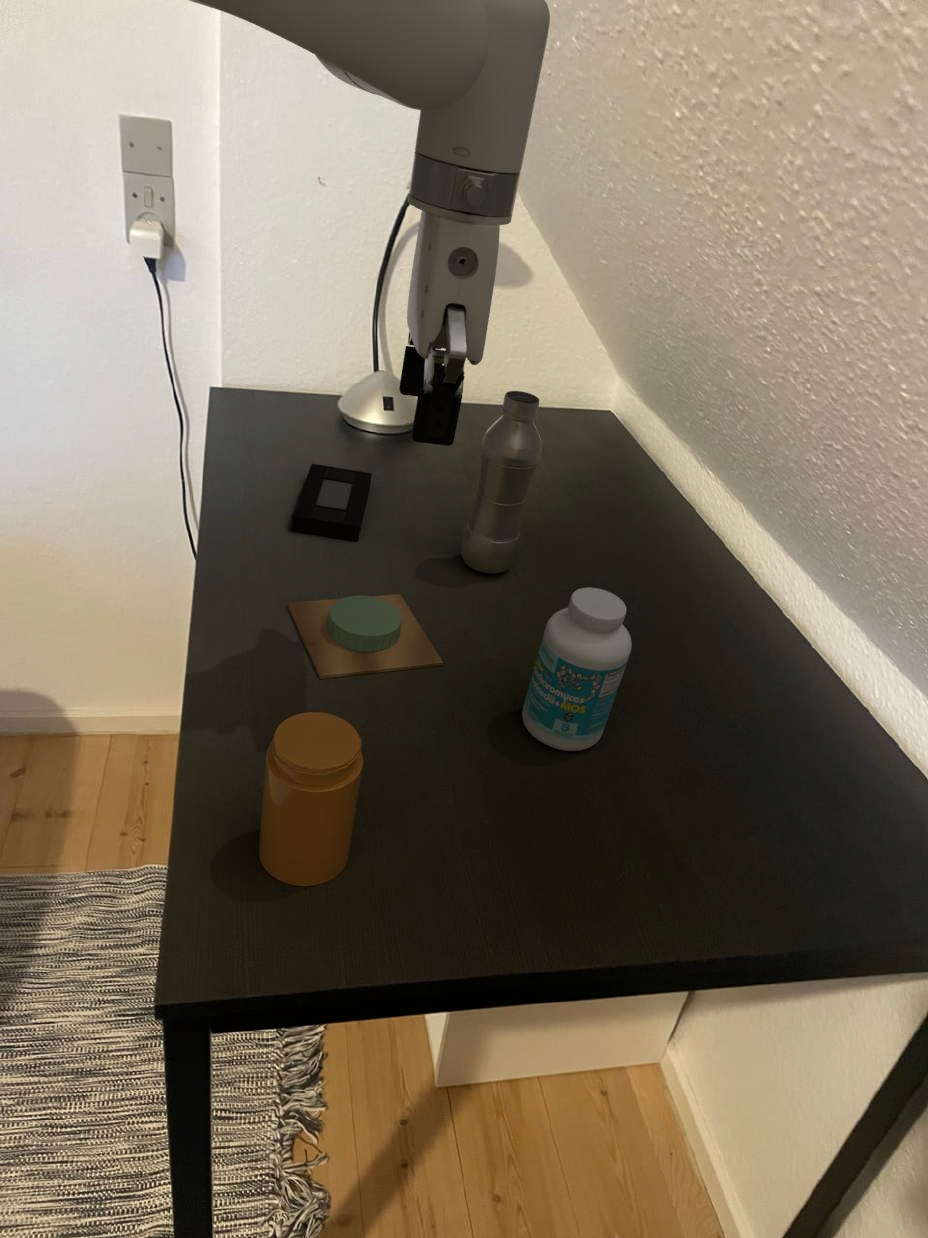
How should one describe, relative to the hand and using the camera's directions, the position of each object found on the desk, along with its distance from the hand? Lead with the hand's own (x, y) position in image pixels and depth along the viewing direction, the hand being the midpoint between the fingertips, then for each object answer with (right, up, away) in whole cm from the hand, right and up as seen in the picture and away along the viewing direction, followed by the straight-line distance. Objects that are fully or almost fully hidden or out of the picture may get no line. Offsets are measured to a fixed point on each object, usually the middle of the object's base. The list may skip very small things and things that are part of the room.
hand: (424, 417), depth 76 cm
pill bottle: (+12, -26, +9) cm, 30 cm away
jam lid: (-6, -16, +15) cm, 23 cm away
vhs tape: (-12, -3, +36) cm, 38 cm away
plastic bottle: (+6, -10, +31) cm, 33 cm away
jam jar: (-8, -33, -8) cm, 35 cm away
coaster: (-7, -18, +15) cm, 24 cm away
